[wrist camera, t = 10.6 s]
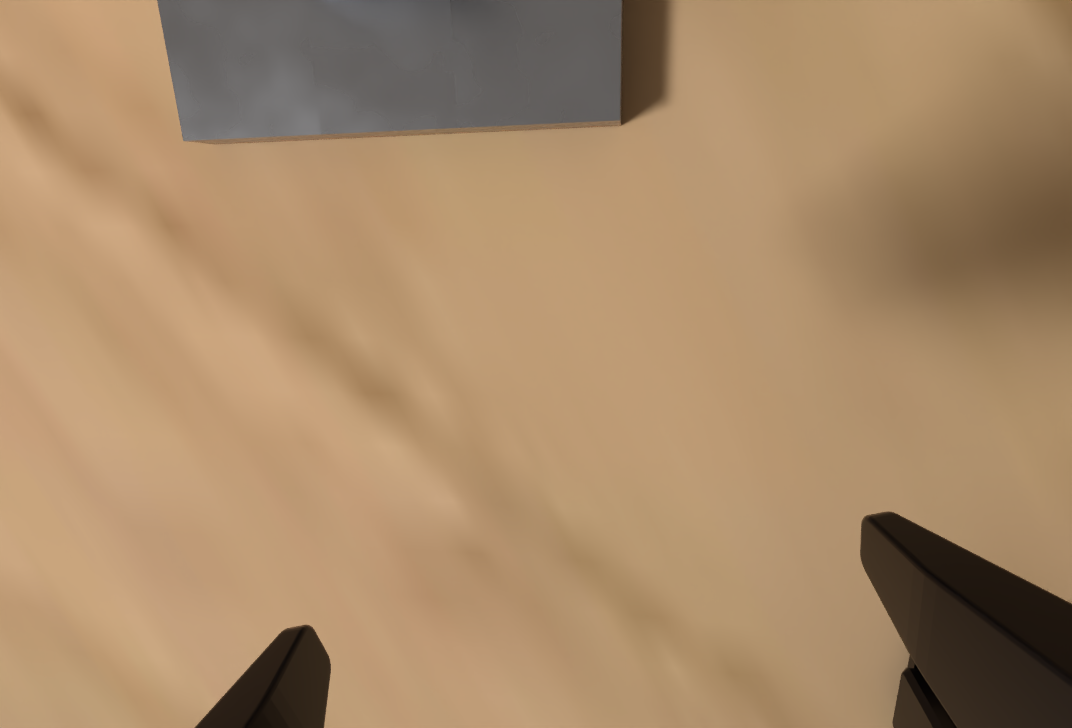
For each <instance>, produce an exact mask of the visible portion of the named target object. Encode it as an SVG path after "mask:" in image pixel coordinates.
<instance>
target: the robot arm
mask: <svg viewBox="0 0 1072 728" xmlns="http://www.w3.org/2000/svg"><path fill="white" fill-rule="evenodd" d="M860 556H861V561H862V564H863V567H864V569H865V571H866V573H867V575H868V577H869V579H870V581H871V583H872V584H873V586H874V588H875V590H876V592H877V594H878V596H879V598H880V600H881V601H882V603H883V605H884V607H885V609H886V611H887V613H888V615H889V616H890V618H891V620H892V622H893V624H894V626H895V628H896V630H897V632H898V633H899V635H900V637H901V639H902V641H903V643H904V645H905V647H906V648H907V650H908V652H909V654H910V657H909V662H908V668H906V669H905V670H904V671H903V672H902V674H901V680H900V685H899V690H898V696H897V701H896V707H895V712H894V717H893V727H894V728H1072V604H1071V603H1069V602H1067V601H1065V600H1063V599H1061V598H1060V597H1058V596H1056V595H1054V594H1052V593H1050V592H1048V591H1046V590H1044V589H1042V588H1040V587H1038V586H1036V585H1034V584H1032V583H1030V582H1028V581H1026V580H1024V579H1023V578H1021V577H1019V576H1017V575H1015V574H1013V573H1011V572H1009V571H1007V570H1005V569H1003V568H1001V567H999V566H997V565H995V564H993V563H991V562H989V561H988V560H986V559H984V558H982V557H980V556H978V555H976V554H974V553H972V552H970V551H968V550H966V549H964V548H962V547H960V546H958V545H956V544H954V543H952V542H951V541H949V540H947V539H945V538H943V537H941V536H939V535H937V534H935V533H933V532H931V531H929V530H927V529H925V528H923V527H921V526H919V525H917V524H916V523H914V522H912V521H910V520H908V519H906V518H904V517H902V516H900V515H898V514H896V513H893V512H882V513H877V514H872V515H867V516H865V517H864V518H863V520H862V524H861V548H860ZM330 673H331V664H330V659H329V656H328V654H327V652H326V650H325V648H324V646H323V645H322V643H321V641H320V639H319V638H318V636H317V634H316V632H315V630H314V629H313V627H311V626H310V625H302V626H296V627H291V628H287V629H285V630H283V631H282V632H281V633H280V634H279V635H278V636H277V637H276V638H275V639H274V641H273V642H272V643H271V644H270V645H269V646H268V647H267V648H266V649H265V651H264V652H263V653H262V654H261V655H260V656H259V657H258V658H257V659H256V660H255V662H254V663H253V664H252V665H251V666H250V667H249V668H248V669H247V670H246V672H245V673H244V674H243V675H242V676H241V677H240V678H239V679H238V680H237V681H236V683H235V684H234V685H233V686H232V687H231V688H230V689H229V690H228V691H227V693H226V694H225V695H224V696H223V697H222V698H221V699H220V700H219V701H218V702H217V704H216V705H215V706H214V707H213V708H212V709H211V710H210V711H209V712H208V714H207V715H206V716H205V717H204V718H203V719H202V720H201V721H200V722H199V723H198V725H197V726H196V727H195V728H324V722H325V714H326V706H327V698H328V689H329V681H330Z"/></svg>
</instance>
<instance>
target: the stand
mask: <svg viewBox="0 0 1072 728" xmlns="http://www.w3.org/2000/svg"><path fill="white" fill-rule="evenodd" d="M157 1H158V7H159V12H160V17H161V23H162V28H163V33H164V39H165V44H166V50H167V55H168V60H169V66H170V71H171V77H172V82H173V87H174V93H175V98H176V103H177V109H178V114H179V120H180V125H181V130H182V136H183V141H189V142H199V143H208V144H231V143H253V142H275V141H297V140H319V139H341V138H363V137H385V136H407V135H429V134H451V133H473V132H495V131H517V130H538V129H560V128H582V127H604V126H621V103H622V27H623V0H157Z"/></svg>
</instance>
